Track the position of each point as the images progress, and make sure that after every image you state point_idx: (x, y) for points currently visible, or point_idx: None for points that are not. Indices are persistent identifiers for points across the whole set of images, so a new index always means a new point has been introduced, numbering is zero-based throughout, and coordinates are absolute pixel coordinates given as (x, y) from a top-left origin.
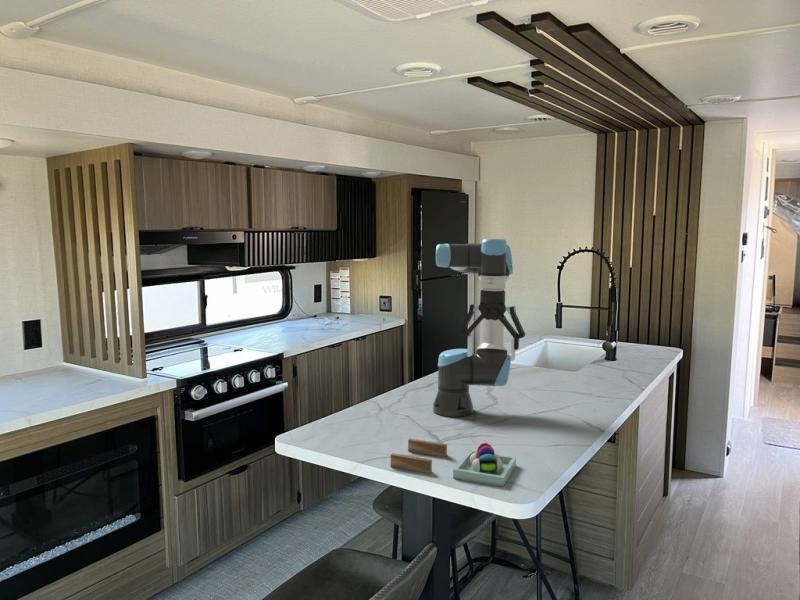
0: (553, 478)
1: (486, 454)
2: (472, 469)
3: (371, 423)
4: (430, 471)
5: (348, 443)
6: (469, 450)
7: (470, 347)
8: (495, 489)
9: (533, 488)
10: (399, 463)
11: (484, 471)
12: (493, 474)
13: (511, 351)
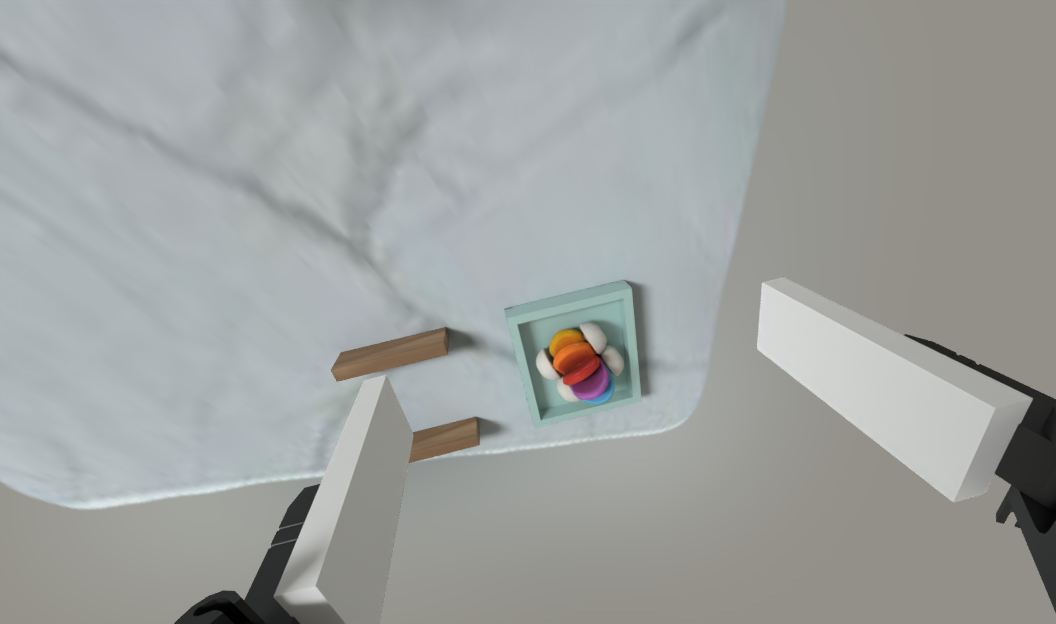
0: (718, 293)
1: (600, 403)
2: None
3: (19, 246)
4: (478, 424)
5: (180, 416)
6: (507, 320)
7: (392, 487)
8: None
9: (688, 360)
10: None
11: None
12: None
13: (823, 394)
